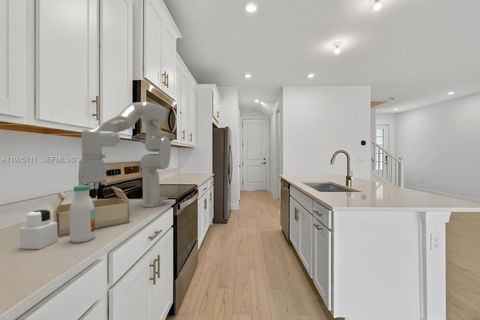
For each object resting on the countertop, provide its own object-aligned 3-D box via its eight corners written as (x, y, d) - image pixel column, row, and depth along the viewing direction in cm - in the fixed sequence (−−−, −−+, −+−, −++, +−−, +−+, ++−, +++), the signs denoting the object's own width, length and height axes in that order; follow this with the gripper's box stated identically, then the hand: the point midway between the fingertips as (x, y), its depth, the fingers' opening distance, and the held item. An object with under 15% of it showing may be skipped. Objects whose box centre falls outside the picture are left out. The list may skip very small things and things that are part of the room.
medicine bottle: (39, 240, 82) (38, 208, 82) (58, 241, 82) (57, 208, 82) (19, 249, 75) (18, 213, 75) (39, 249, 75) (38, 213, 75)
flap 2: (119, 196, 117) (112, 186, 115) (129, 201, 105) (121, 189, 102) (118, 197, 117) (111, 186, 114) (128, 202, 104) (120, 190, 102)
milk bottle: (85, 243, 80) (84, 187, 79) (64, 243, 80) (62, 187, 79) (99, 235, 88) (98, 184, 87) (80, 235, 88) (78, 184, 87)
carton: (118, 214, 118) (117, 197, 118) (129, 222, 103) (129, 203, 103) (53, 225, 100) (53, 205, 100) (57, 237, 86) (56, 213, 86)
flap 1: (53, 205, 99) (62, 191, 101) (55, 212, 87) (65, 196, 89) (51, 204, 99) (60, 191, 101) (53, 211, 86) (63, 196, 88)
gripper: (108, 157, 109) (109, 194, 110) (70, 157, 99) (71, 199, 100) (112, 157, 104) (113, 196, 104) (72, 158, 94) (74, 201, 94)
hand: (93, 197), depth 102 cm, fingers closed
